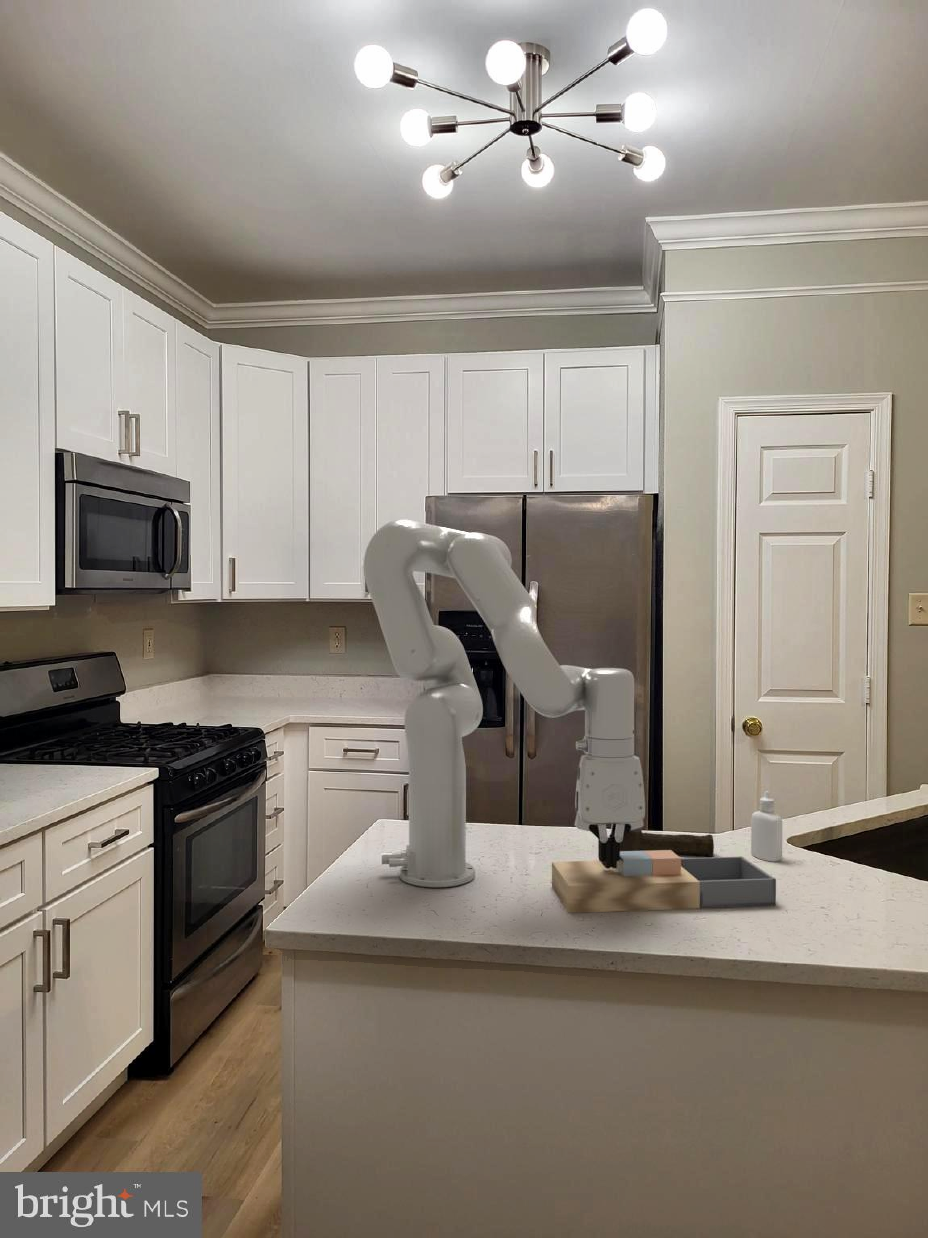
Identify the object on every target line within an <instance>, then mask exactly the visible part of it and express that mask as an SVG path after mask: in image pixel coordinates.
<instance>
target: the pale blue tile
mask: <svg viewBox="0 0 928 1238" xmlns="http://www.w3.org/2000/svg"><path fill="white" fill-rule="evenodd" d="M617 870H618V871H619V872H620V873H621V874H622V875H623V876H642V875H652V858H651V857H649V856H648V855H647V854H646V853H645V852H644V851H620V860H619V861H617Z"/></svg>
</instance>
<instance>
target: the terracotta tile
mask: <svg viewBox="0 0 928 1238" xmlns="http://www.w3.org/2000/svg"><path fill="white" fill-rule="evenodd" d="M644 852H645V853H646V854H647V855H648V856H649V857H651V858H652V875H677V874H681V857H680V856H679V855H678V854H677V853H674V852H673V851H671V850H654V851H644Z"/></svg>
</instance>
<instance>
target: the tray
mask: <svg viewBox="0 0 928 1238" xmlns="http://www.w3.org/2000/svg"><path fill="white" fill-rule="evenodd" d="M680 858H681V857H680ZM681 867H683V868H684V869H685V870H686V871H687V872H689V873H690V874H691V875H692V876H693V877H695V878H696V879H697V880H698V881H699V882H700V908H699V909H715V908H716V909H717V908H718V909H721V908H741V907H742V908H745V907H746V908H747V907H774V906H776V904H777V903H776V902H777V879H776V878H775V877H774V876H772V875H770V874H769V873H767V872H766V871H764V870H763V869H761V868H760V867H758V866H757V865H755V864H754V863H752V862H751V861H749V860H748V859H746V858H745V857H743V856H720V857H719V856H718V857H717V856H713V857H709V856H708V857H683V858H681Z"/></svg>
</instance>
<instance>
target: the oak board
mask: <svg viewBox="0 0 928 1238" xmlns="http://www.w3.org/2000/svg"><path fill="white" fill-rule="evenodd" d="M551 888H552V889H553V891H554V892H555V894H556V895H557V896H558V899H559V900H560V902H561V903H562V905H563V906H564V908H565V909H566V911H567V912H568V913H570V914H575V913H580V914H581V913H602V912H603V913H605V912H606V913H607V912H608V913H609V912H629V911H630V912H631V911H637V912H638V911H657V910H658V911H659V910H661V911H662V910H688V909H690V910H691V909H701V908H700V882H699V881H698V880H697V879H696V878H695V877H693V876H692V875H691V874H690V873H689V872H687V871H686V870H685V869H684V868H683V867H681V874H677V875H642V876H623V875H622V874H621V873H620V872H619V871H618V870H617V868H612V867H611V868H607V869H606V868H605V867H604V865H603V864H602V862H600V861H599V860H584V861H583V860H579V861H578V860H575V861H572V860H571V861H551Z"/></svg>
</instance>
